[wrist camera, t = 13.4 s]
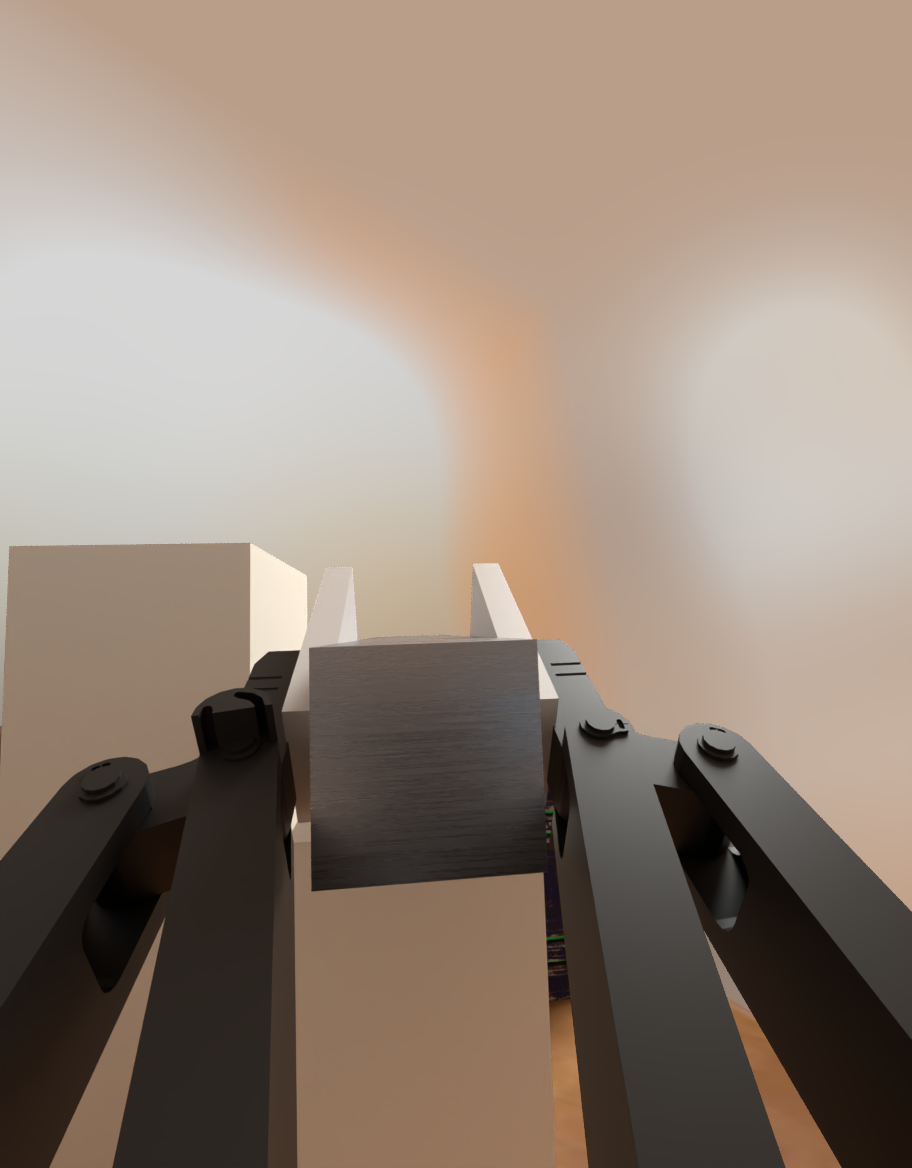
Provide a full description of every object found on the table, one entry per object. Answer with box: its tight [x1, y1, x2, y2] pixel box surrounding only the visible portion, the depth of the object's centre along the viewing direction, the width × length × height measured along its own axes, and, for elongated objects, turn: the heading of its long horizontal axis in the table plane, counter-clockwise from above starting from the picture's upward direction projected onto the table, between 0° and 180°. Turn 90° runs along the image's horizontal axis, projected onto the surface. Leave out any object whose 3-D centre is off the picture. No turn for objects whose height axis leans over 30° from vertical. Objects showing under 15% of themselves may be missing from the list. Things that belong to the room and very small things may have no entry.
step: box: [292, 822, 556, 1168], centre depth 22 cm, size 8×12×20 cm, turn 5°
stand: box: [0, 543, 307, 1168], centre depth 29 cm, size 10×14×30 cm
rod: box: [309, 635, 548, 892], centre depth 19 cm, size 4×22×4 cm, turn 6°
